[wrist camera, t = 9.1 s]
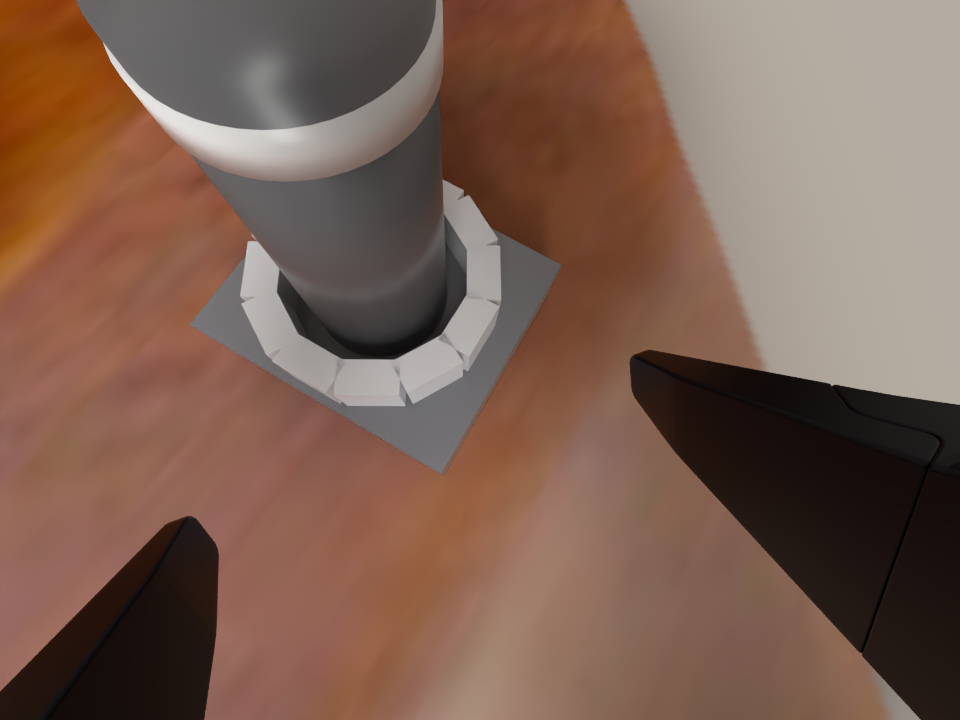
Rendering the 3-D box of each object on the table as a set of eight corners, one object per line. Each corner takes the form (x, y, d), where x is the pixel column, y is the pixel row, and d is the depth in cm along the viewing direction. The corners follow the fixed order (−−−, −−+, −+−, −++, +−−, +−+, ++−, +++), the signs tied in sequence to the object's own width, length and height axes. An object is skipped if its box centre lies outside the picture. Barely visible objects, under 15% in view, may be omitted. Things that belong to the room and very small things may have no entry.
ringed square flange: (547, 294, 22) (573, 239, 17) (443, 476, 19) (439, 471, 14) (350, 189, 23) (321, 108, 18) (227, 348, 20) (156, 303, 16)
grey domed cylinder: (470, 326, 18) (501, 27, 6) (343, 380, 17) (114, 147, 6) (418, 218, 19) (363, -197, 8) (295, 264, 18) (27, -128, 7)
